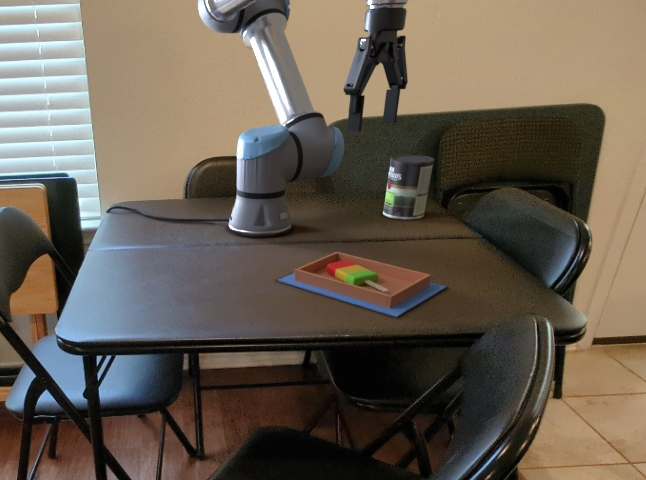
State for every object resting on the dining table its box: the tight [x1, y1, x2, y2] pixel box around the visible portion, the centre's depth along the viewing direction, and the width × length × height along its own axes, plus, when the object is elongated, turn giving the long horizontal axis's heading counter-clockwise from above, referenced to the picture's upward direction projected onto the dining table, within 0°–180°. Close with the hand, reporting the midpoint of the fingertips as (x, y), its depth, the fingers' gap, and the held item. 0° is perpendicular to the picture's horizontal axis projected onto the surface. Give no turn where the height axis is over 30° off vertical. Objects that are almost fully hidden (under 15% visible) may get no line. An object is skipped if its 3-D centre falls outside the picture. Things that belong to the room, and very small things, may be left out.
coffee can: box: [382, 154, 435, 221], centre depth 149 cm, size 10×10×14 cm
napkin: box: [277, 272, 447, 318], centre depth 111 cm, size 25×18×1 cm
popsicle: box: [327, 260, 388, 292], centre depth 110 cm, size 6×15×2 cm, turn 23°
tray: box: [294, 251, 432, 309], centre depth 111 cm, size 20×14×2 cm
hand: (372, 127), depth 121 cm, fingers open, 13 cm apart
